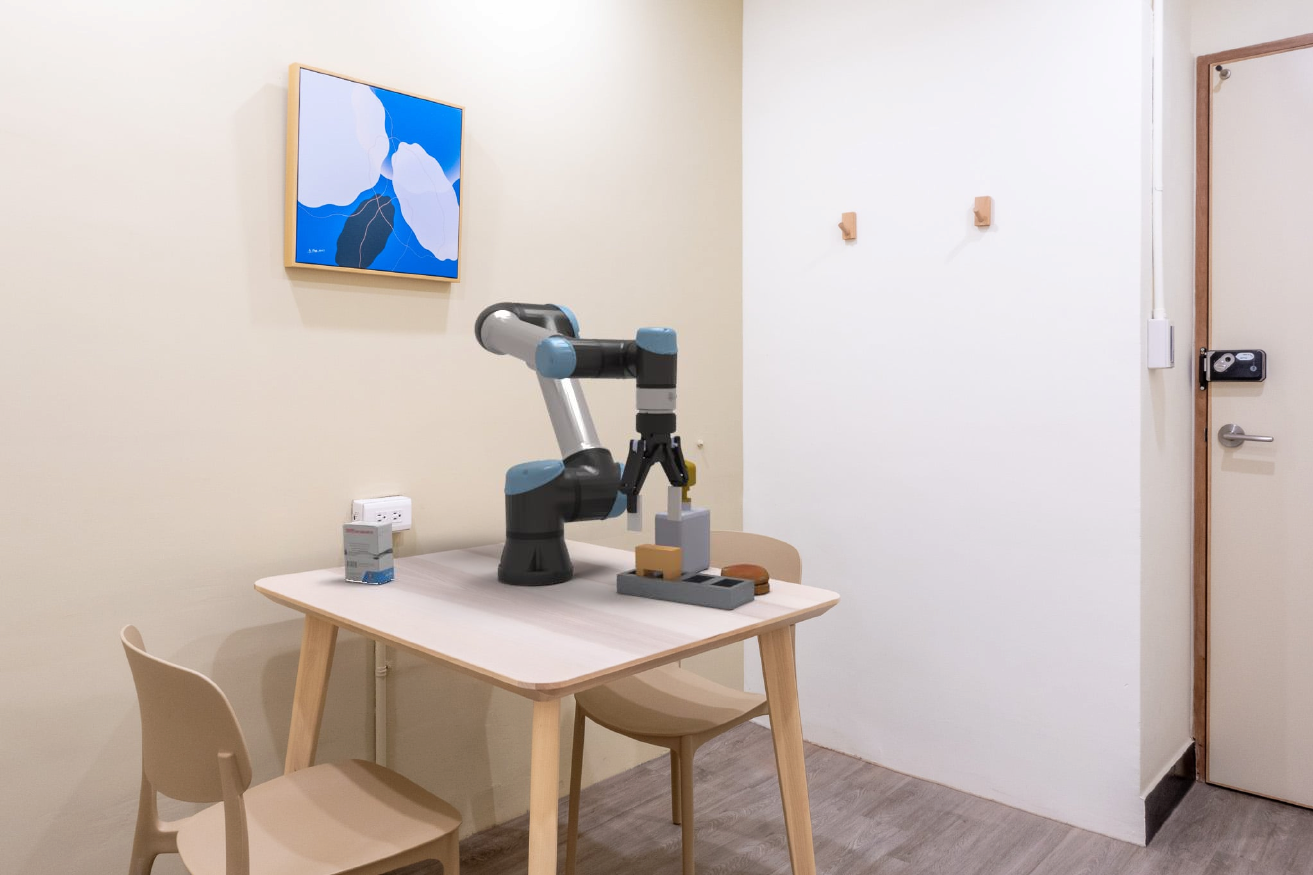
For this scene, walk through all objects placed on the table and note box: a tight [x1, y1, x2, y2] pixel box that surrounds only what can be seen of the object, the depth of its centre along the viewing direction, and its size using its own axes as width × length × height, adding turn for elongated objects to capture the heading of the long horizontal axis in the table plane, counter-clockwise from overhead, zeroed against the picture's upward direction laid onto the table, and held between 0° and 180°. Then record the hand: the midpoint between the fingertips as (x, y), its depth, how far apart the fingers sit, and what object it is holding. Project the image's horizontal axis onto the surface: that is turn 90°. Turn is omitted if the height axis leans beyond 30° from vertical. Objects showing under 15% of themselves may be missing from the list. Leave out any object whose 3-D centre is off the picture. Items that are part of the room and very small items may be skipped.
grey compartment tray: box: [616, 568, 755, 611], centre depth 163 cm, size 24×9×4 cm, turn 57°
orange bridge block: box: [634, 543, 682, 579], centre depth 165 cm, size 8×4×7 cm, turn 57°
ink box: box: [342, 520, 395, 585], centre depth 176 cm, size 9×5×12 cm, turn 68°
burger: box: [720, 563, 771, 595], centre depth 167 cm, size 10×9×5 cm
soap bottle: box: [654, 459, 711, 573], centre depth 184 cm, size 12×7×23 cm, turn 147°
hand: (655, 525), depth 166 cm, fingers open, 13 cm apart
